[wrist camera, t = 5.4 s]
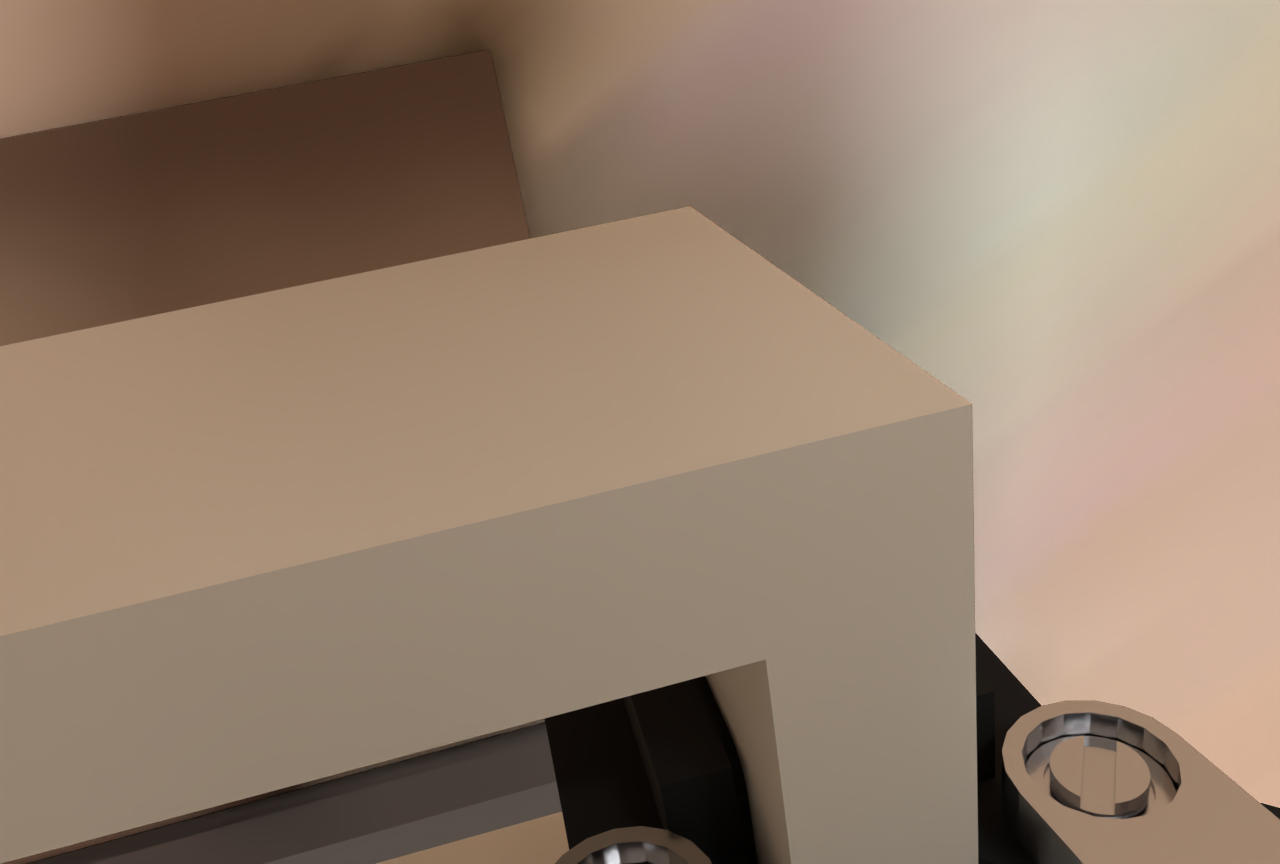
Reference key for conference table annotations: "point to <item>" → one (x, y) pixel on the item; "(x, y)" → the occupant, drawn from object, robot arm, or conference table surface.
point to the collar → (489, 542)
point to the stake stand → (252, 195)
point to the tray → (362, 812)
